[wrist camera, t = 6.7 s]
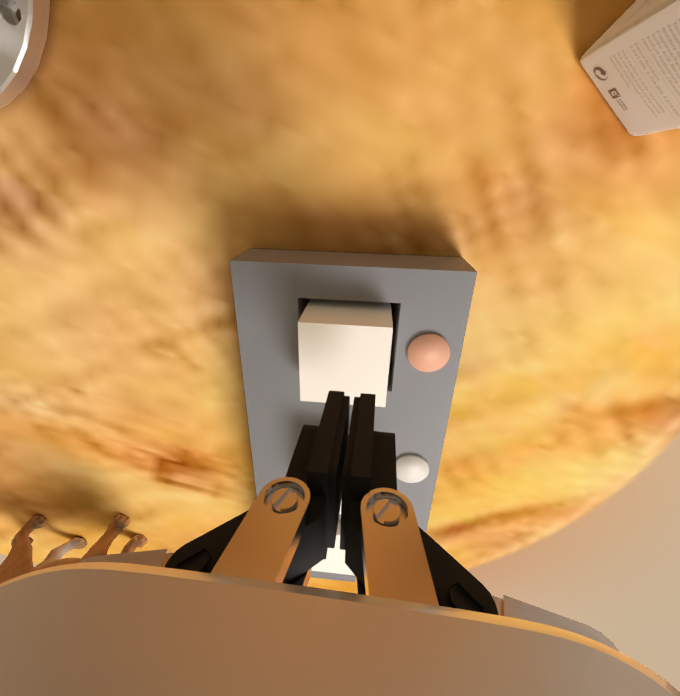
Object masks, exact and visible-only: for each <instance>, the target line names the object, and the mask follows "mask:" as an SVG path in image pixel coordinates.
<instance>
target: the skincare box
mask: <svg viewBox="0 0 680 696" xmlns="http://www.w3.org/2000/svg"><path fill="white" fill-rule="evenodd" d="M580 63H581V65H582V67H583V68H584V69H585V71H586V72H587V74H588V75H589V76H590V78H591V80H592V81H593V82H594V84H595V86H596V87H597V89H598V90H599V92H600V93H601V94H602V96H603V97H604V99H605V100H606V102H607V103H608V104H609V106H610V107H611V109H612V110H613V112H614V113H615V115H616V116H617V117H618V119H619V120H620V121H621V123H622V124H623V125H624V127H625V128H626V130H627V131H628V133H630V134H631V135H633V136H640V135H645V134H651V133H656V132H661V131H665V130H671V129H676V128H680V0H636V1H635V2H634V3H633V4H632V5H631V6H630V7H629V8H628V9H627V10H626V11H625V12H624V13H623V14H622V15H621V16H620V17H619V18H618V19H617V20H616V21H615V22H614V23H613V24H612V25H611V27H610V28H609V29H608V30H607V31H606V32H605V33H604V34H603V35H602V36H601V37H600V38H599V39H598V40H597V41H596V42H595V43H594V44H593V45H592V46H591V47H590V48H589V49H588V50H587V51H586V52H585V53H584V55H583V56H582V57H581V59H580Z"/></svg>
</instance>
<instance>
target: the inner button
mask: <svg viewBox="0 0 680 696" xmlns="http://www.w3.org/2000/svg"><path fill="white" fill-rule="evenodd" d="M392 333H393V322H392V312H391V303H385V302H366V301H348V300H329V299H310V301H309V302H308V304H307V306H306V308H305V310H304V312H303V313H302V315H301V317H300V319H299V321H298V346H299V377H300V401H309V402H323V403H326V400H327V396H328V393H329V391H342V392H344V396H350V405H353V402H354V397H360V394H361V393H365V394H376V397H375V407H385V405H386V395H387V385H388V374H389V364H390V354H391V343H392Z"/></svg>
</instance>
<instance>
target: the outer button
mask: <svg viewBox="0 0 680 696" xmlns="http://www.w3.org/2000/svg"><path fill="white" fill-rule="evenodd" d="M340 527H341V521H339V520H338V527H337V534H336V541H335V547H334V548H328V550H327V556H326V560H325V559H323V560H322V561H320V562H319V563H318V564H316V565H315V566H313V567H312V570H311V571H319V572H328V573H337V574H346V575H354V574H353V572H352V571H351V570H350V569H349V567H348V566H347V565H346V564H345V550H341V549H340Z"/></svg>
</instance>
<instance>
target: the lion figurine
mask: <svg viewBox="0 0 680 696" xmlns="http://www.w3.org/2000/svg"><path fill="white" fill-rule="evenodd" d="M129 523H130V520H129V518H128V517H127V516H125V515H122V514H118V515H117V516H116V517H115V518H114V520H113V521H112V522H111V524H110V525H109V527H108V529H107V530H106V532H105V533H104V535H103V536H102V537H101V538H100V539H99V540H98V541H97V542H96V543H95V544H94V545H93V546H92V547H91V548H90V549H89V551H88V552H87V553H86V554H85V555H84V556H83V557H82V559H81V558H65V559H60V558H61V557H62V556H63V555H64V554H65V553H66V552H68V551H69V550H71V549H82V548H84V547H85V546H86V545H87V543H86V541H85V540H84V539H82V538H73V539H71V540H70V541H68V542H66V543H64V544H62V545H61V546H59V547H57V548H55V549H53V550H51V551H50V553H49V554H48V556H47V557H46V559H45V560H44V561H43V562H42V563H40V564H39V565H37V566H36V567H33V562H32V545H31V543H32V542H33V539H32V538H31V537H29V534H30V532H31V531H32V530H34V529H37V528H41V527H43V526H44V525H45V524H46V520H45V519H44V517H42V516H40V515H36V516H33V517H32V518H31V519H30V520H29V521H28V522H27V523H26V524H25V525H24V527H23V528H22V529H21V530H20V531H19V532H18V533H17V534H16V535H15V537H14V538H13V540H12V543H11V544H12V549H11V551H10V553H9V555H8V556H7V558H6V559H5V560H4V562H3V563H2V564H1V565H0V584H1V583H3V582H5V581H7V580H10V579H13V578H15V577H18V576H20V575H23V574H27V573H30V572H33V571H36V570H41V569H45V568H49V567H54V566H58V565H65V564H74V563H77V562H79V561H81V560H83V559H85V558H89V557H93V556H100V555H107V551H108V548H109V546H110V545H111V543H112V541H113V540H114V539H115V538H116V537H117V535H118V534H119V533H120V532H121V531H122V530H123V528H124V527H126V526H128V524H129ZM146 543H147V538H146V537H145V536H144V535H136V536H134V537H133V538H132V539H131V540H130V541H129V542H128V543H127V544H126V545H125V546H124V548H123V550H122V552H121V553H131V552H134V550H135V549H136V548H137V547H143V546H144V545H145V544H146Z"/></svg>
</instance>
